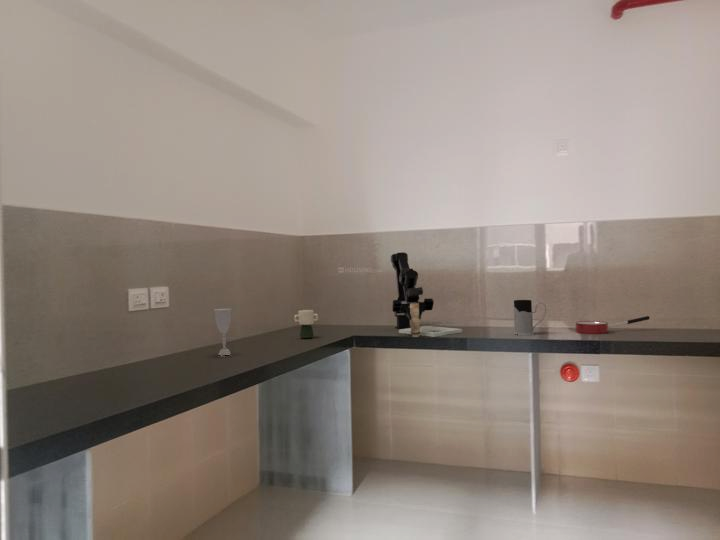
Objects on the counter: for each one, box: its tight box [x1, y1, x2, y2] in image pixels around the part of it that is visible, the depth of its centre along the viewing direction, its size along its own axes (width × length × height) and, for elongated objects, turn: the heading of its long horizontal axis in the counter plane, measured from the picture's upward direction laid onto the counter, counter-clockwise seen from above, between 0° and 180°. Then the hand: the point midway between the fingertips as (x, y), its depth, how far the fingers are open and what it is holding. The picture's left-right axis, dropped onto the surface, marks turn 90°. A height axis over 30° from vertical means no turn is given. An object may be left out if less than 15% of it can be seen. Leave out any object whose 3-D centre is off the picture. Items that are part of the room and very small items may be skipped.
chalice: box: [213, 308, 232, 357], centre depth 208 cm, size 7×7×18 cm
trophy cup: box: [294, 309, 319, 339], centre depth 248 cm, size 11×7×13 cm, turn 99°
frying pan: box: [575, 315, 650, 335], centre depth 236 cm, size 32×13×6 cm, turn 97°
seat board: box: [398, 325, 463, 338], centre depth 253 cm, size 23×19×2 cm
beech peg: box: [410, 303, 421, 338], centre depth 240 cm, size 4×4×15 cm
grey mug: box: [513, 299, 547, 336], centre depth 235 cm, size 9×14×15 cm, turn 78°
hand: (415, 319), depth 239 cm, fingers closed on beech peg, 4 cm apart
